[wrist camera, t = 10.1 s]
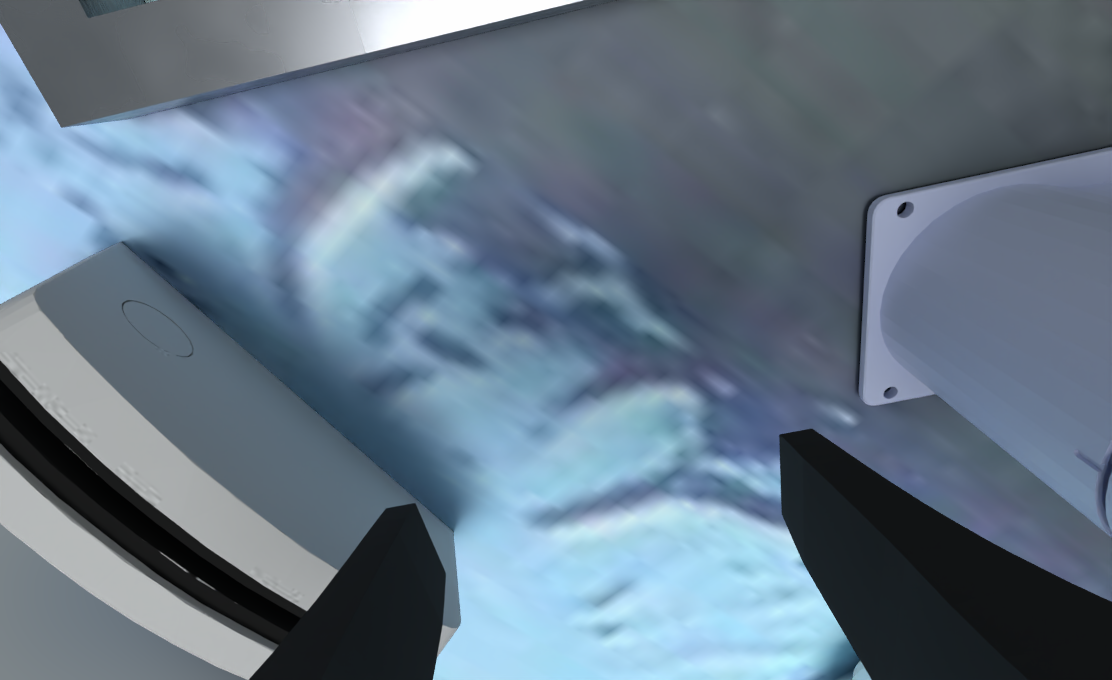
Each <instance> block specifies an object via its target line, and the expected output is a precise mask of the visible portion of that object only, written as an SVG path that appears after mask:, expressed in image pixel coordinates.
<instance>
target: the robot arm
mask: <svg viewBox="0 0 1112 680" xmlns="http://www.w3.org/2000/svg"><path fill="white" fill-rule="evenodd" d="M904 202H906V208H905V210H904V211H903V212H902V213H901V214H899V215H897V210H898V207H899V206H900V205H901V204H902V203H904ZM889 387H891V389H890V390H889V391H888V392H885V393H884V391H885V390H886V389H887V388H889ZM934 394H936V395H938V396H939V397H940V398H941V399H943V400H944V401H945V402H946V403H947V404H949V405H950V406H951V407H952V408H954V409H955V410H956V411H957V412H958V413H960V414H961V415H962V416H963V417H965V418H966V419H967V420H968V421H969V422H971V423H972V424H973V425H974V426H976V427H977V428H978V429H979V430H980V431H982V432H983V433H984V434H985V435H987V436H988V437H989V438H990V439H991V440H993V441H994V442H995V443H996V444H998V445H999V446H1000V447H1001V448H1002V449H1004V450H1005V451H1006V452H1007V453H1009V454H1010V455H1011V456H1012V457H1014V458H1015V459H1016V460H1017V461H1018V462H1020V463H1021V464H1022V465H1023V466H1025V467H1026V468H1027V469H1028V470H1029V471H1031V472H1032V473H1033V474H1034V475H1036V476H1037V477H1038V478H1039V479H1040V480H1042V481H1043V482H1044V483H1045V484H1047V485H1048V486H1049V487H1050V488H1051V489H1053V490H1054V491H1055V492H1056V493H1058V494H1059V495H1060V496H1061V497H1062V498H1064V499H1065V500H1066V501H1067V502H1069V503H1070V504H1071V505H1072V506H1073V507H1075V508H1076V509H1077V510H1078V511H1080V512H1081V513H1082V514H1083V515H1084V516H1086V517H1087V518H1088V519H1089V520H1091V521H1092V522H1093V523H1094V524H1096V525H1097V526H1098V527H1099V528H1100V529H1102V530H1103V531H1104V532H1105V533H1107V534H1108V535H1109V536H1110V537H1111V538H1112V147H1109V148H1104V149H1100V150H1095V151H1090V152H1085V153H1081V154H1076V155H1071V156H1067V157H1062V158H1057V159H1053V160H1048V161H1043V162H1038V163H1034V164H1029V165H1024V166H1020V167H1015V168H1010V169H1005V170H1001V171H996V172H991V173H987V174H982V175H977V176H973V177H968V178H963V179H958V180H954V181H949V182H944V183H940V184H935V185H930V186H926V187H921V188H916V189H911V190H907V191H902V192H897V193H893V194H888V195H884V196H881V197H879V198H877V199H876V200H875V201H873V202H872V204H871V205H870V207H869V210H868V214H867V233H866V253H865V274H864V294H863V314H862V334H861V355H860V375H859V397H860V398H861V399H862V400H863V401H864V402H865V403H866V404H867V405H870V406H876V405H881V404H886V403H892V402H897V401H902V400H908V399H913V398H918V397H924V396H929V395H934ZM779 438H780V471H781V504H782V515H783V518H784V520H785V522H786V525H787V527H788V529H789V532H790V534H791V536H792V539H793V541H794V543H795V545H796V548H797V550H798V552H799V554H800V556H801V559H802V561H803V563H804V565H805V567H806V568H807V570H808V572H809V574H810V575H811V577H812V579H813V581H814V582H815V584H816V586H817V588H818V589H819V591H820V593H821V594H822V596H823V598H824V600H825V601H826V603H827V605H828V606H829V608H830V610H831V612H832V613H833V615H834V617H835V618H836V620H837V622H838V623H839V625H840V627H841V628H842V630H843V632H844V634H845V635H846V637H847V639H848V640H849V642H850V644H851V645H852V647H853V649H854V651H855V652H856V654H857V656H858V657H859V659H860V661H861V662H862V664H863V666H864V668H865V669H866V671H867V673H868V674H869V676H870V678H871V679H872V680H1112V602H1111V601H1109V600H1106V599H1104V598H1102V597H1100V596H1098V595H1095V594H1093V593H1091V592H1089V591H1087V590H1085V589H1083V588H1080V587H1078V586H1076V585H1074V584H1072V583H1070V582H1068V581H1066V580H1064V579H1062V578H1060V577H1058V576H1056V575H1054V574H1052V573H1050V572H1048V571H1046V570H1044V569H1042V568H1040V567H1038V566H1036V565H1034V564H1032V563H1030V562H1028V561H1026V560H1024V559H1022V558H1020V557H1018V556H1016V555H1014V554H1012V553H1010V552H1008V551H1006V550H1005V549H1003V548H1001V547H999V546H997V545H995V544H993V543H992V542H990V541H988V540H986V539H984V538H982V537H981V536H979V535H977V534H976V533H974V532H972V531H970V530H969V529H967V528H965V527H963V526H962V525H960V524H958V523H956V522H955V521H953V520H951V519H949V518H948V517H946V516H944V515H943V514H941V513H939V512H938V511H936V510H934V509H933V508H931V507H929V506H928V505H926V504H924V503H923V502H921V501H920V500H918V499H917V498H915V497H913V496H912V495H910V494H909V493H907V492H906V491H904V490H902V489H901V488H899V487H898V486H896V485H895V484H893V483H891V482H890V481H888V480H887V479H885V478H884V477H882V476H881V475H879V474H878V473H876V472H875V471H873V470H872V469H870V468H869V467H867V466H866V465H864V464H863V463H862V462H860V461H859V460H857V459H856V458H854V457H853V456H851V455H850V454H848V453H847V452H845V451H844V450H842V449H841V448H840V447H838V446H837V445H835V444H834V443H832V442H831V441H829V440H828V439H826V438H825V437H823V436H822V435H821V434H819V433H818V432H816V431H815V430H813V429H807V430H802V431H797V432H791V433H786V434H780V435H779ZM445 584H446V572H445V570H444V567H443V565H442V563H441V560H440V558H439V556H438V554H437V551H436V549H435V547H434V544H433V542H432V540H431V538H430V535H429V533H428V531H427V528H426V526H425V524H424V521H423V519H422V517H421V515H420V512H419V510H418V508H417V505H416V503H411V504H406V505H401V506H395V507H390V508H386V509H385V510H384V512H383V513H382V514H381V515H380V517H379V518H378V519H377V521H376V522H375V523H374V524H373V526H372V527H371V528H370V530H369V531H368V532H367V534H366V535H365V536H364V538H363V539H362V541H361V542H360V543H359V545H358V546H357V547H356V549H355V550H354V551H353V553H352V554H351V555H350V557H349V558H348V559H347V561H346V562H345V563H344V565H343V566H342V567H341V568H340V570H339V571H338V572H337V574H336V575H335V576H334V578H333V579H332V580H331V581H330V583H329V584H328V585H327V587H326V588H325V589H324V591H323V592H322V593H321V595H320V596H319V597H318V598H317V600H316V601H315V602H314V603H313V605H312V606H311V607H310V608H309V609H308V611H307V612H306V613H305V614H304V615H303V617H302V618H301V619H300V620H299V622H298V623H297V624H296V625H295V626H294V628H293V629H292V630H291V631H290V632H289V634H288V635H287V636H286V637H285V638H284V640H283V641H282V642H281V643H280V644H279V646H278V647H277V648H276V649H275V650H274V652H273V653H272V654H271V655H270V656H269V657H268V659H267V660H266V661H265V662H264V663H263V664H262V665H261V666H260V668H259V669H258V670H257V671H256V672H255V673H254V674H253V675H252V676H251V677H250V679H249V680H433V675H434V670H435V665H436V659H437V654H438V648H439V643H440V637H441V632H442V626H443V614H444V602H445Z"/></svg>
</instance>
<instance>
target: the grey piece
mask: <svg viewBox="0 0 1112 680" xmlns="http://www.w3.org/2000/svg"><path fill="white" fill-rule="evenodd" d="M411 503H416V505H417V508H418V510H419V512H420V515H421V517H422V519H423V521H424V524H425V526H426V528H427V531H428V533H429V535H430V538H431V540H432V542H433V544H434V547H435V549H436V551H437V554H438V556H439V558H440V560H441V563H442V565H443V567H444V570H445V572H446V584H445V602H444V614H443V626H442V632H441V637H440V643H439V648H438V654H437V657H438V655H439V654H440V652H441V651H442V650H443V648H444V647H445V646H446V644H447V643H448V641H449V640H450V639H451V637H452V636H453V634H454V633H455V632H456V630H457V629H458V627H459V626H460V624H461V616H460V604H459V592H458V581H457V569H456V557H455V546H454V534H453V531H452V530H451V529H450V528H449V527H447V526H446V525H445V524H444V523H443V522H442V521H440V520H439V519H438V518H437V517H436V516H435V515H434V514H432V513H431V512H430V511H429V510H428V509H427V508H426V507H424V506H423V505H422V504H421V503H420V502H419V501H418V500H416V499H415V498H414V497H413V496H412V495H411V494H410V493H408V492H407V491H406V490H405V489H404V488H403V487H402V486H400V485H399V484H398V483H397V482H396V481H395V480H394V479H392V478H391V477H390V476H389V475H388V474H387V473H385V472H384V471H383V470H382V469H381V468H380V467H379V466H377V465H376V464H375V463H374V462H373V461H372V460H371V459H369V458H368V457H367V456H366V455H365V454H364V453H363V452H361V451H360V450H359V449H358V448H357V447H356V446H355V445H353V444H352V443H351V442H350V441H349V440H348V439H347V438H345V437H344V436H343V435H342V434H341V433H340V432H339V431H337V430H336V429H335V428H334V427H333V426H332V425H331V424H329V423H328V422H327V421H326V420H325V419H324V418H322V417H321V416H320V415H319V414H318V413H317V412H316V411H314V410H313V409H312V408H311V407H310V406H309V405H308V404H306V403H305V402H304V401H303V400H302V399H301V398H300V397H298V396H297V395H296V394H295V393H294V392H293V391H292V390H290V389H289V388H288V387H287V386H286V385H285V384H284V383H282V382H281V381H280V380H279V379H278V378H277V377H276V376H274V375H273V374H272V373H271V372H270V371H269V370H267V369H266V368H265V367H264V366H263V365H262V364H261V363H259V362H258V361H257V360H256V359H255V358H254V357H253V356H251V355H250V354H249V353H248V352H247V351H246V350H245V349H243V348H242V347H241V346H240V345H239V344H238V343H237V342H235V341H234V340H233V339H232V338H231V337H230V336H229V335H227V334H226V333H225V332H224V331H223V330H222V329H221V328H219V327H218V326H217V325H216V324H215V323H214V322H213V321H211V320H210V319H209V318H208V317H207V316H206V315H204V314H203V313H202V312H201V311H200V310H199V309H198V308H196V307H195V306H194V305H193V304H192V303H191V302H190V301H188V300H187V299H186V298H185V297H184V296H183V295H182V294H180V293H179V292H178V291H177V290H176V289H175V288H174V287H172V286H171V285H170V284H169V283H168V282H167V281H166V280H164V279H163V278H162V277H161V276H160V275H159V274H158V273H156V272H155V271H154V270H153V269H152V268H151V267H149V266H148V265H147V264H146V263H145V262H144V261H143V260H141V259H140V258H139V257H138V256H137V255H136V254H135V253H133V252H132V251H131V250H130V249H129V248H128V247H127V246H125V245H124V244H123V243H122V242H119V243H117V244H115V245H113V246H110V247H108V248H106V249H104V250H102V251H100V252H98V253H96V254H94V255H92V256H90V257H88V258H86V259H84V260H82V261H80V262H78V263H77V264H75V265H73V266H71V267H69V268H67V269H65V270H63V271H62V272H60V273H58V274H56V275H54V276H52V277H50V278H49V279H47V280H45V281H43V282H41V283H39V284H37V285H35V286H34V287H32V288H30V289H28V290H26V291H24V292H22V293H21V294H19V295H17V296H15V297H13V298H11V299H9V300H7V301H6V302H4V303H2V304H0V523H1V524H2V525H3V526H4V527H5V528H6V529H7V530H9V531H10V532H11V533H12V534H14V535H15V536H16V537H18V538H19V539H20V540H21V541H23V542H24V543H25V544H26V545H28V546H29V547H30V548H32V549H33V550H34V551H35V552H37V553H38V554H39V555H40V556H42V557H43V558H44V559H45V560H47V561H48V562H49V563H50V564H52V565H53V566H54V567H56V568H57V569H58V570H60V571H61V572H62V573H64V574H65V575H67V576H68V577H69V578H71V579H72V580H73V581H75V582H76V583H77V584H79V585H80V586H81V587H83V588H84V589H85V590H87V591H88V592H90V593H91V594H92V595H94V596H96V597H97V598H99V599H100V600H102V601H103V602H105V603H106V604H108V605H109V606H111V607H112V608H114V609H115V610H117V611H118V612H120V613H121V614H123V615H124V616H126V617H128V618H129V619H130V620H132V621H134V622H136V623H137V624H139V625H141V626H143V627H144V628H146V629H148V630H149V631H151V632H153V633H155V634H157V635H158V636H160V637H162V638H163V639H165V640H167V641H169V642H170V643H172V644H174V645H176V646H178V647H180V648H182V649H184V650H186V651H187V652H189V653H191V654H193V655H195V656H197V657H199V658H201V659H203V660H205V661H207V662H209V663H211V664H213V665H215V666H216V667H219V668H221V669H223V670H226V671H228V672H231V673H233V674H235V675H238V676H240V677H242V678H245V679H247V680H249V679H250V677H251V676H252V675H253V674H254V673H255V672H256V671H257V670H258V669H259V668H260V666H261V665H262V664H263V663H264V662H265V661H266V660H267V659H268V657H269V656H270V655H271V654H272V653H273V652H274V650H275V649H276V648H277V647H278V646H279V644H280V643H281V642H282V641H283V640H284V638H285V637H286V636H287V635H288V634H289V632H290V631H291V630H292V629H293V628H294V626H295V625H296V624H297V623H298V622H299V620H300V619H301V618H302V617H303V615H304V614H305V613H306V612H307V611H308V609H309V608H310V607H311V606H312V605H313V603H314V602H315V601H316V600H317V598H318V597H319V596H320V595H321V593H322V592H323V591H324V589H325V588H326V587H327V585H328V584H329V583H330V581H331V580H332V579H333V578H334V576H335V575H336V574H337V572H338V571H339V570H340V568H341V567H342V566H343V565H344V563H345V562H346V561H347V559H348V558H349V557H350V555H351V554H352V553H353V551H354V550H355V549H356V547H357V546H358V545H359V543H360V542H361V541H362V539H363V538H364V536H365V535H366V534H367V532H368V531H369V530H370V528H371V527H372V526H373V524H374V523H375V522H376V521H377V519H378V518H379V517H380V515H381V514H382V513H383V512H384V510H385V509H386V508H390V507H395V506H401V505H406V504H411Z"/></svg>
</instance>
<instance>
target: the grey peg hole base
mask: <svg viewBox="0 0 1112 680" xmlns="http://www.w3.org/2000/svg"><path fill="white" fill-rule="evenodd" d="M613 1H617V0H157V1H153V2H150V3H146V4H145V3H144V1H143V0H0V23H1V25H2V27H3V28H4V30H5V32H6V34H7V35H8V37H9V39H10V40H11V42H12V44H13V46H14V47H15V49H16V51H17V52H18V54H19V56H20V58H21V59H22V61H23V63H24V64H25V66H26V68H27V70H28V71H29V73H30V75H31V76H32V78H33V80H34V81H35V83H36V85H37V87H38V88H39V90H40V92H41V93H42V95H43V97H44V99H45V100H46V102H47V104H48V105H49V107H50V109H51V111H52V112H53V114H54V116H55V117H56V119H57V121H58V122H59V124H60V126H61V128H63V127H71V126H79V125H87V124H94V123H102V122H110V121H118V120H126V119H131V118H135V117H140V116H144V115H148V114H152V113H156V112H160V111H164V110H168V109H172V108H177V107H181V106H185V105H189V104H193V103H197V102H201V101H205V100H209V99H214V98H218V97H222V96H226V95H230V94H234V93H238V92H242V91H246V90H251V89H255V88H259V87H263V86H267V85H271V84H275V83H279V82H284V81H288V80H292V79H296V78H300V77H304V76H308V75H312V74H316V73H321V72H325V71H329V70H333V69H337V68H341V67H345V66H349V65H353V64H358V63H362V62H366V61H370V60H374V59H378V58H382V57H386V56H390V55H395V54H399V53H403V52H407V51H411V50H415V49H419V48H423V47H427V46H432V45H436V44H440V43H444V42H448V41H452V40H456V39H460V38H464V37H469V36H473V35H477V34H481V33H485V32H489V31H493V30H497V29H502V28H506V27H510V26H514V25H518V24H522V23H526V22H530V21H534V20H539V19H543V18H547V17H551V16H555V15H559V14H563V13H567V12H571V11H576V10H580V9H584V8H588V7H592V6H596V5H600V4H604V3H608V2H613Z"/></svg>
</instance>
